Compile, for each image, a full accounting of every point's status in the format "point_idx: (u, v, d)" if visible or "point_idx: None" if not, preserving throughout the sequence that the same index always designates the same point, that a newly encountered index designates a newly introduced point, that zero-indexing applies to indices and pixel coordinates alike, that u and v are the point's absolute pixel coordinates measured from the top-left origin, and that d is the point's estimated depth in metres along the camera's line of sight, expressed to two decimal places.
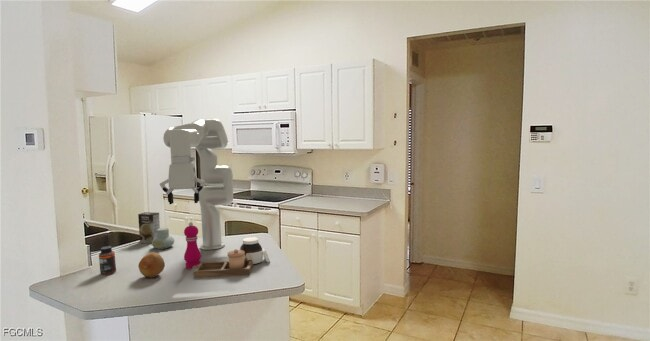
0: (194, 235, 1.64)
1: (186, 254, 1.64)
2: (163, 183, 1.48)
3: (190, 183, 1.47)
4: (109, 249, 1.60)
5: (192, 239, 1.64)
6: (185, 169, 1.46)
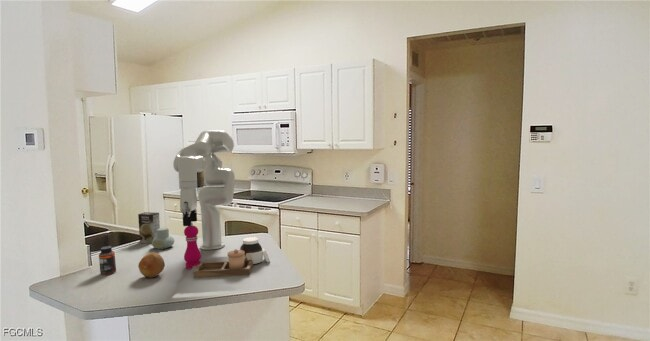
0: (194, 235, 1.64)
1: (186, 254, 1.64)
2: (186, 207, 1.57)
3: (196, 204, 1.68)
4: (109, 249, 1.60)
5: (192, 239, 1.64)
6: (195, 192, 1.66)
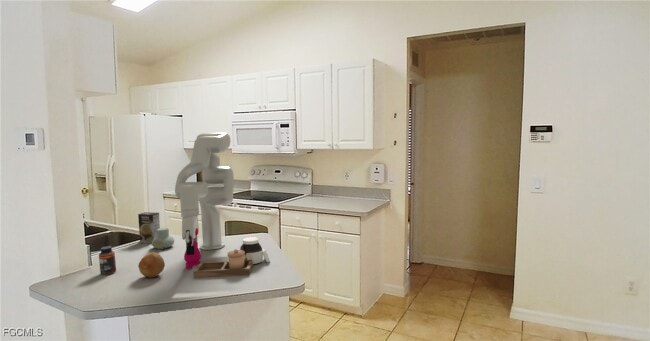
0: None
1: (186, 254, 1.64)
2: (188, 238, 1.60)
3: (198, 230, 1.69)
4: (109, 249, 1.60)
5: None
6: (197, 218, 1.67)
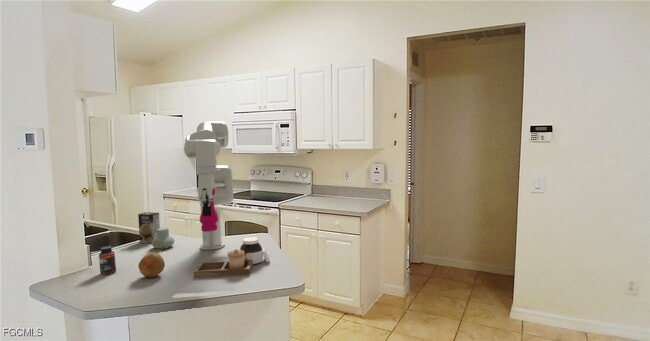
0: None
1: (202, 216, 1.51)
2: (205, 197, 1.47)
3: None
4: (109, 249, 1.60)
5: None
6: None
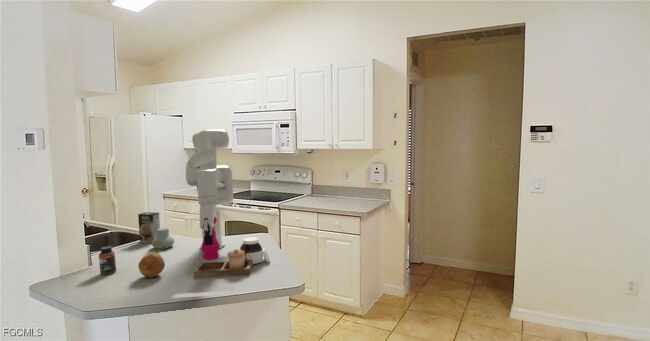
0: None
1: (204, 244, 1.52)
2: (207, 227, 1.48)
3: None
4: (109, 249, 1.60)
5: None
6: (215, 206, 1.56)
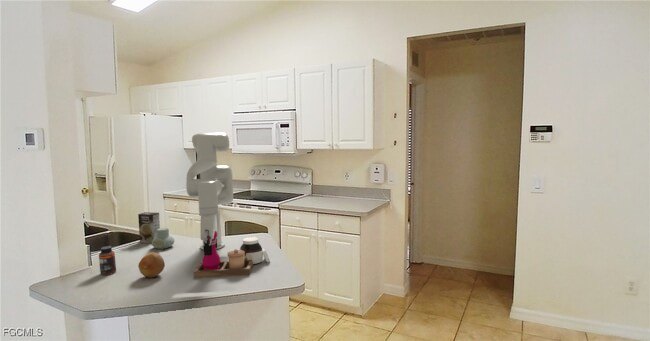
0: (213, 238, 1.53)
1: (205, 259, 1.53)
2: (207, 236, 1.47)
3: (216, 230, 1.58)
4: (109, 249, 1.60)
5: (211, 243, 1.53)
6: None
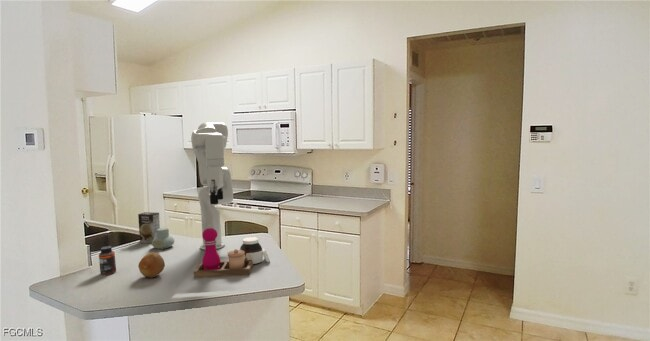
0: (213, 238, 1.53)
1: (205, 259, 1.53)
2: (213, 185, 1.55)
3: (222, 182, 1.66)
4: (109, 249, 1.60)
5: (211, 243, 1.53)
6: None
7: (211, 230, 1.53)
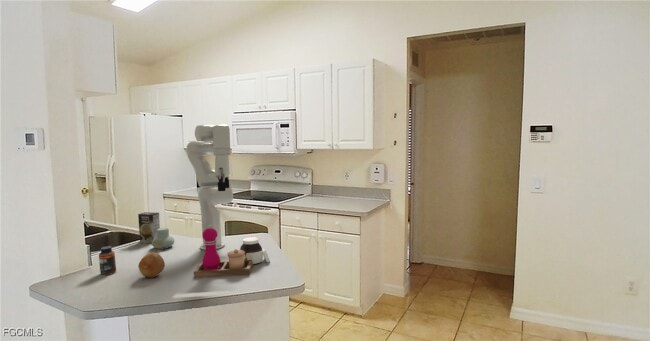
0: (213, 238, 1.53)
1: (205, 259, 1.53)
2: (221, 172, 1.63)
3: None
4: (109, 249, 1.60)
5: (211, 243, 1.53)
6: (228, 159, 1.72)
7: (211, 230, 1.53)
